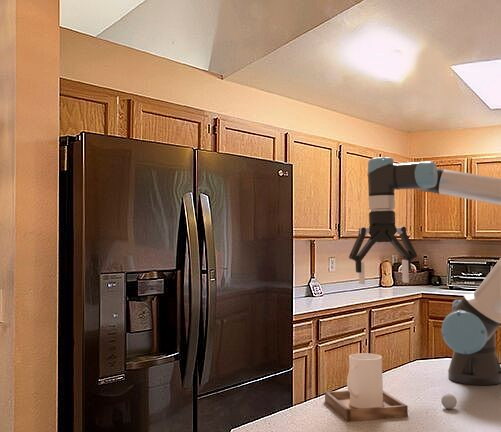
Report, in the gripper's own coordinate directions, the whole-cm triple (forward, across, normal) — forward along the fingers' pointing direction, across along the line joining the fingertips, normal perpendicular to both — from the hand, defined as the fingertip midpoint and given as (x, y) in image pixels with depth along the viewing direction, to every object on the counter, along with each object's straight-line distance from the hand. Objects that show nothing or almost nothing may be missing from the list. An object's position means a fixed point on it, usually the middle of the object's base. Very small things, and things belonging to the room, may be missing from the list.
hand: (383, 283), depth 178 cm
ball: (+29, -4, +29) cm, 41 cm away
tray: (+29, +16, +24) cm, 40 cm away
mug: (+28, +17, +24) cm, 41 cm away
